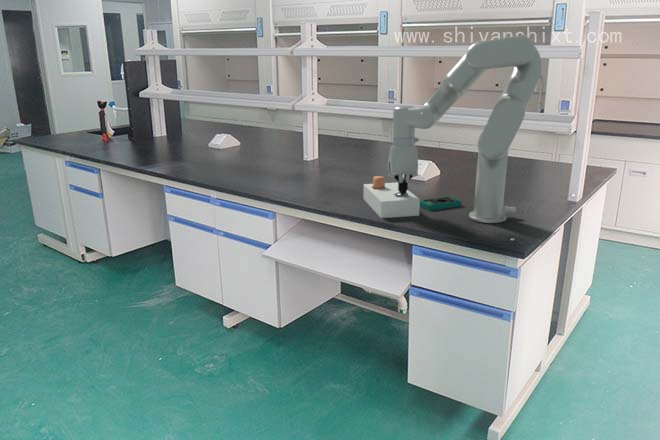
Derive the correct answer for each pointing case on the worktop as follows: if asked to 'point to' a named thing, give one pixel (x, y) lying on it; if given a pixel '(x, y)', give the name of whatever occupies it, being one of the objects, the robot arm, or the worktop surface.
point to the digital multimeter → (440, 203)
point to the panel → (391, 201)
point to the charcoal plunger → (401, 195)
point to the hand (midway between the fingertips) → (402, 192)
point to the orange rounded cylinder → (378, 182)
